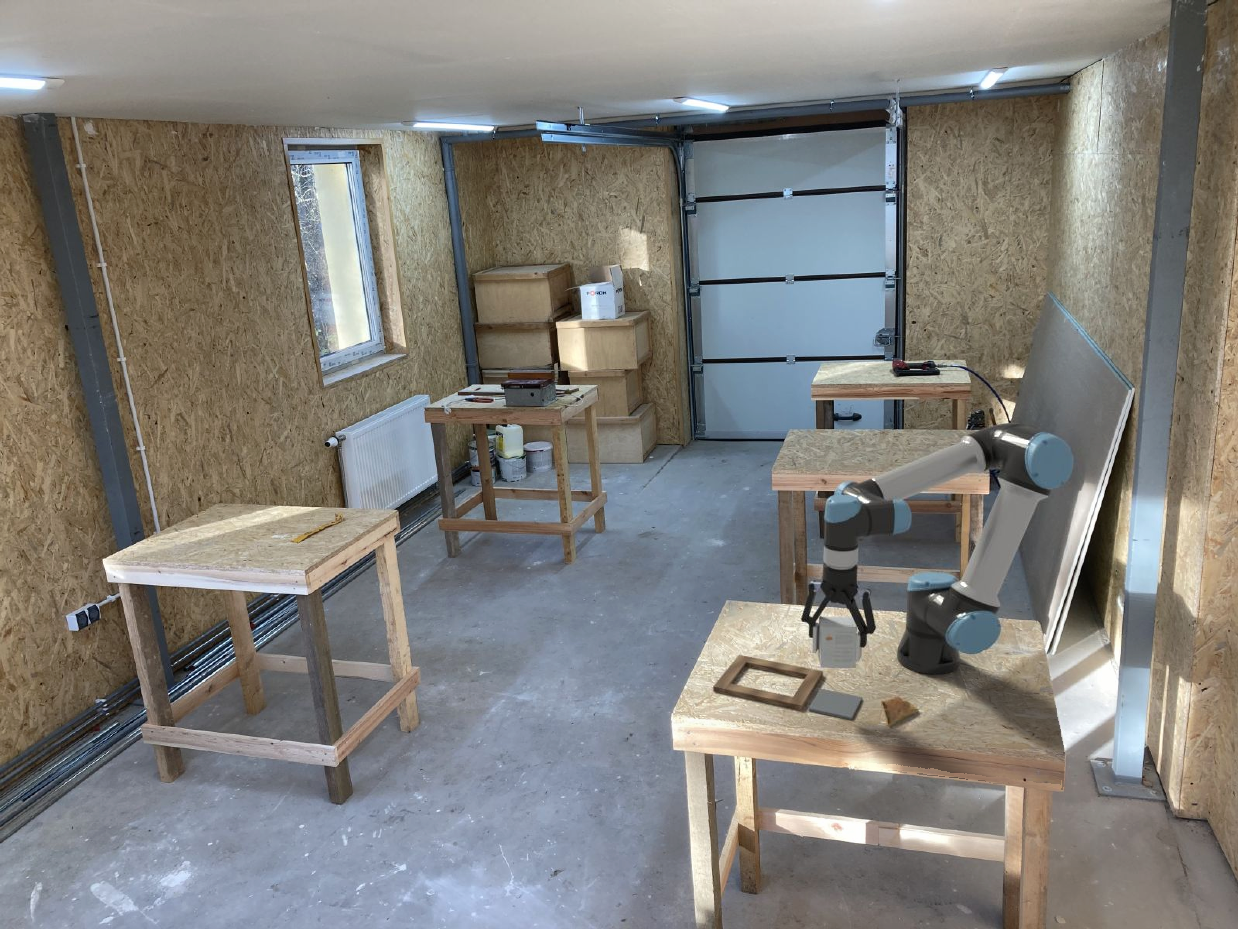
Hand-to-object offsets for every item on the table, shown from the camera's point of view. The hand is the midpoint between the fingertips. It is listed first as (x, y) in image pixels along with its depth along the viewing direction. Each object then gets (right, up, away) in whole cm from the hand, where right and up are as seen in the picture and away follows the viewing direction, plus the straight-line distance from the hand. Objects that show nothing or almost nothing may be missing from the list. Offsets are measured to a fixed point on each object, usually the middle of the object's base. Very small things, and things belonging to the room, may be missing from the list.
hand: (836, 654), depth 217 cm
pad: (0, -12, +3) cm, 13 cm away
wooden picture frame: (-13, -10, +14) cm, 22 cm away
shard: (+14, -14, -1) cm, 20 cm away
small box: (0, -2, +1) cm, 2 cm away
